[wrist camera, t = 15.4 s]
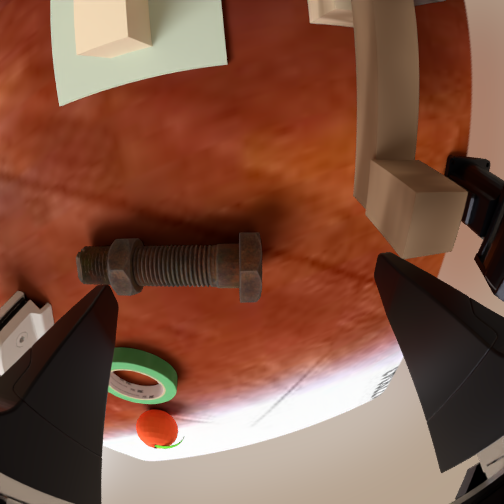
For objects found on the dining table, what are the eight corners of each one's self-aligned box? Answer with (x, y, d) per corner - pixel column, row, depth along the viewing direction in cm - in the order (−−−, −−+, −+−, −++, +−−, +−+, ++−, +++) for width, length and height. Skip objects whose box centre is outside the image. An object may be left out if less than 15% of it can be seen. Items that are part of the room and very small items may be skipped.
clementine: (183, 405, 39) (182, 445, 34) (186, 420, 43) (185, 456, 37) (134, 400, 38) (129, 439, 32) (142, 416, 42) (138, 450, 36)
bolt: (96, 234, 24) (256, 232, 25) (98, 288, 24) (256, 290, 25) (63, 236, 18) (263, 232, 19) (67, 301, 19) (263, 307, 19)
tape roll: (188, 361, 33) (187, 379, 31) (166, 395, 38) (165, 410, 36) (102, 334, 29) (96, 351, 27) (96, 374, 34) (92, 389, 32)
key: (393, 4, 9) (471, -12, 4) (391, 193, 16) (452, 251, 11) (344, -7, 9) (412, -40, 4) (348, 196, 16) (402, 259, 11)
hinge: (65, 373, 34) (31, 416, 25) (44, 356, 34) (9, 396, 25) (50, 302, 26) (-7, 356, 17) (26, 281, 26) (-29, 328, 17)
